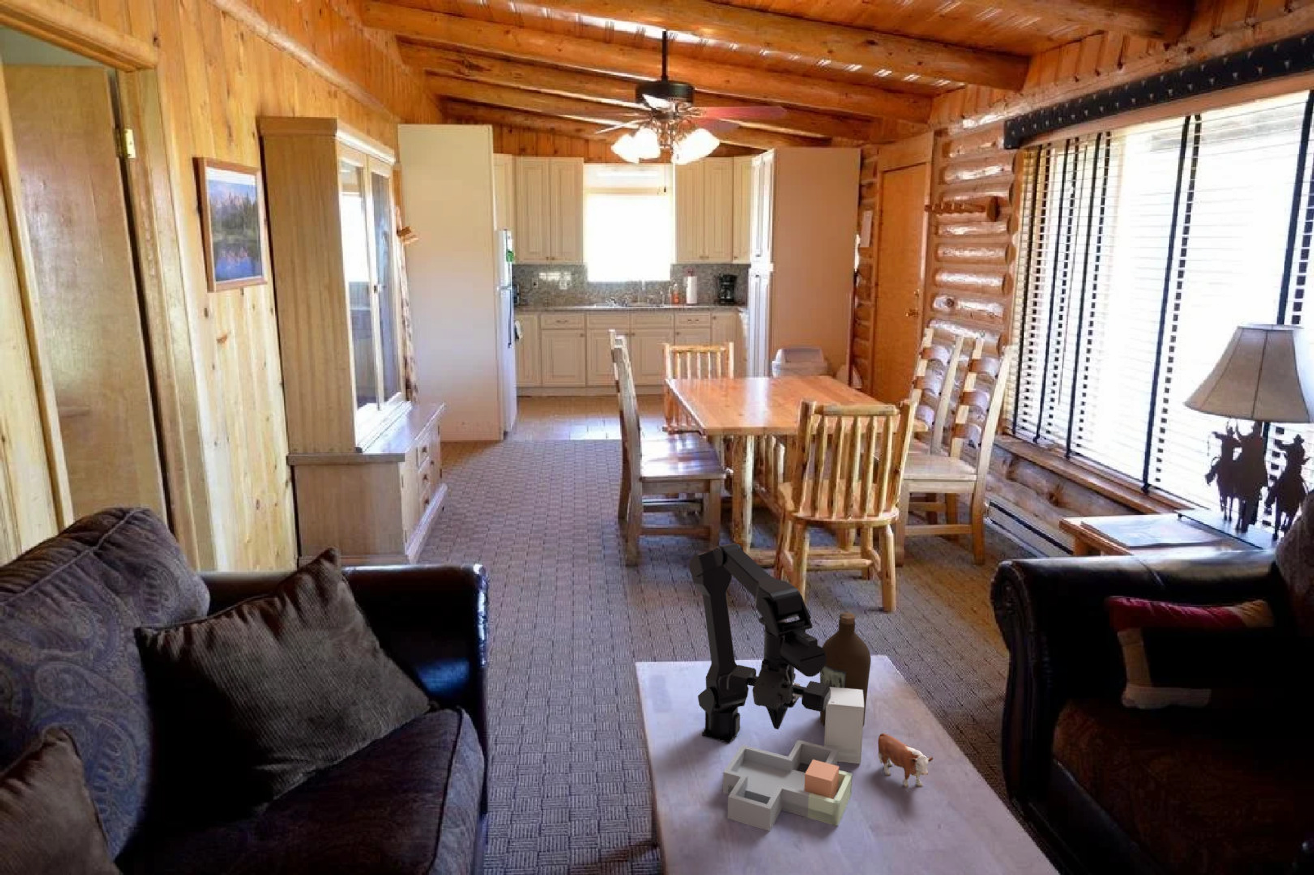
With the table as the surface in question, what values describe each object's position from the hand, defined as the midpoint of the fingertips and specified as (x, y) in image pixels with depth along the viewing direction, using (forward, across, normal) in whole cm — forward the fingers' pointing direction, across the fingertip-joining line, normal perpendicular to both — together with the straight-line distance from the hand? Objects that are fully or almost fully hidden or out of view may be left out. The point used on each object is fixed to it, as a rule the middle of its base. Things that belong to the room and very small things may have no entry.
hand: (776, 728), depth 165 cm
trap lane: (+12, +3, -2) cm, 13 cm away
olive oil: (+12, +6, +27) cm, 30 cm away
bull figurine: (+12, +22, +12) cm, 28 cm away
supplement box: (+12, +9, +16) cm, 22 cm away
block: (+10, +10, -2) cm, 14 cm away
